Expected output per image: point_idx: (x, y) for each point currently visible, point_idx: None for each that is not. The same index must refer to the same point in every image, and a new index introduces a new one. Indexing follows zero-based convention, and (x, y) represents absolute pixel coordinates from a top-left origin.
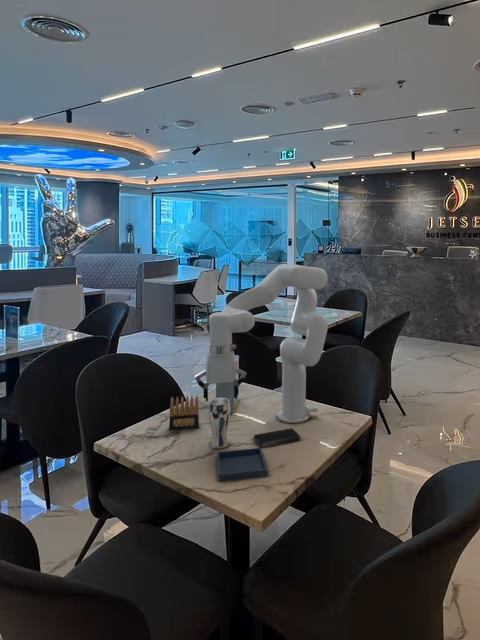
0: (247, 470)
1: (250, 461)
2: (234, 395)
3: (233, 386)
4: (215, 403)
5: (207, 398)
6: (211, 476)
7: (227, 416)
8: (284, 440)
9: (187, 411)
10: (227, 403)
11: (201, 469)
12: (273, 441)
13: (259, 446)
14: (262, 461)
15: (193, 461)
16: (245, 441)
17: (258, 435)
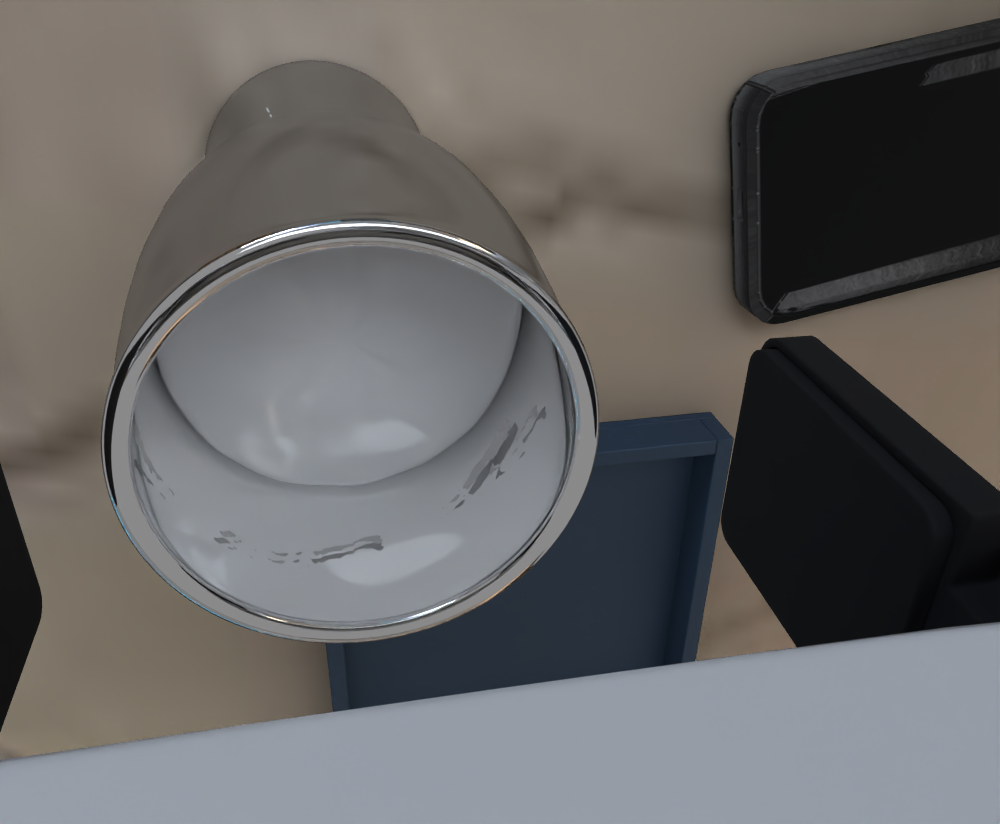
0: (549, 657)
1: (594, 550)
2: (752, 571)
3: None
4: (237, 211)
5: (13, 663)
6: (276, 696)
7: (478, 431)
8: (990, 266)
9: None
10: (530, 561)
11: (178, 613)
12: (889, 276)
13: (735, 294)
14: (681, 592)
15: (69, 492)
16: (628, 136)
17: (799, 101)
